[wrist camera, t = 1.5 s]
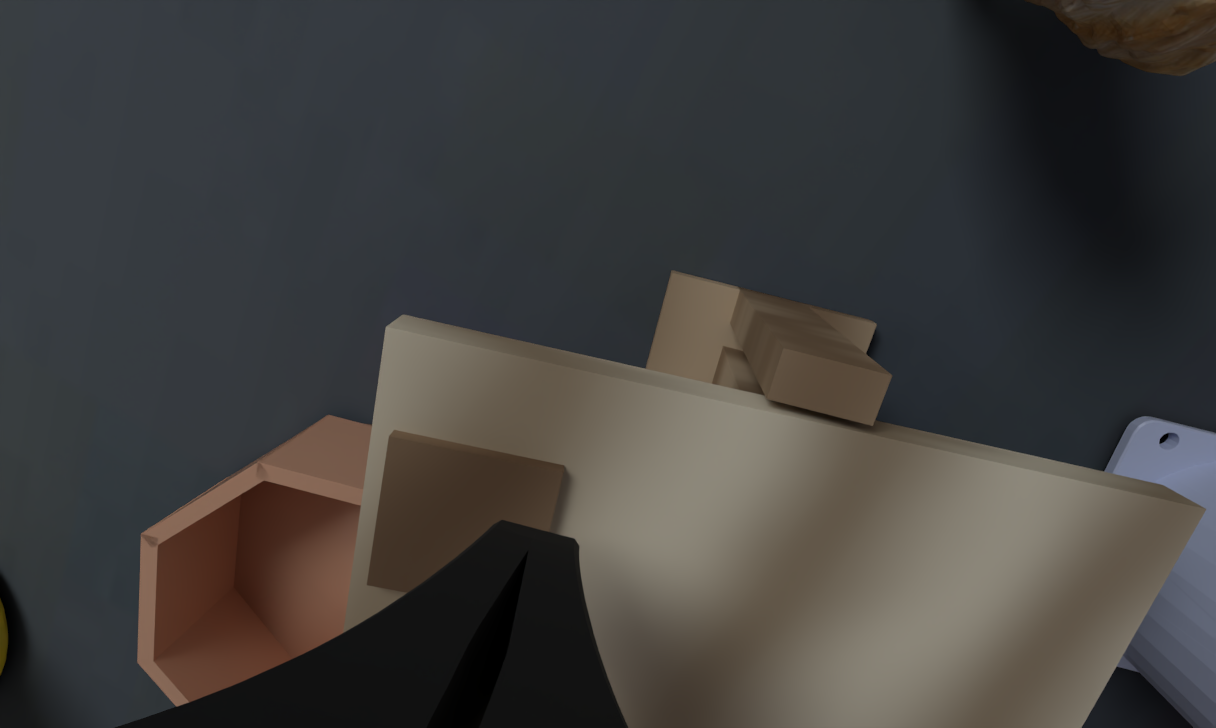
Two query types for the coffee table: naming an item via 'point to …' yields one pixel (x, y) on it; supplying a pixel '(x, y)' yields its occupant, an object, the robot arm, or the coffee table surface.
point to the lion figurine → (1144, 31)
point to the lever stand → (768, 348)
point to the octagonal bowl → (254, 564)
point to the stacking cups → (3, 637)
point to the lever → (765, 541)
